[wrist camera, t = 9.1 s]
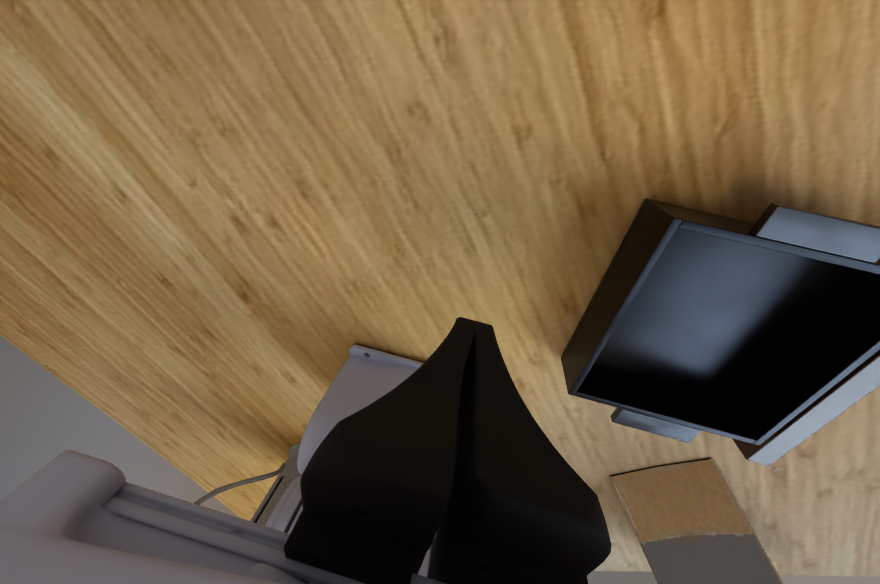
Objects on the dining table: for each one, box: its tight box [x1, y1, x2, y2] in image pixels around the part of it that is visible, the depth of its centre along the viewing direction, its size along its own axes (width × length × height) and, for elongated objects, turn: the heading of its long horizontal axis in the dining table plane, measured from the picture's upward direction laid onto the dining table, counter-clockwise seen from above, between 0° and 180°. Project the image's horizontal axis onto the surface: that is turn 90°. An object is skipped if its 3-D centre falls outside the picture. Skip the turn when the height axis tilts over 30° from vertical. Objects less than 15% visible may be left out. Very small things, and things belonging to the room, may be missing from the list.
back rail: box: [732, 350, 880, 466], centre depth 18 cm, size 2×16×3 cm, turn 170°
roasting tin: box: [561, 199, 880, 445], centre depth 18 cm, size 12×15×4 cm
